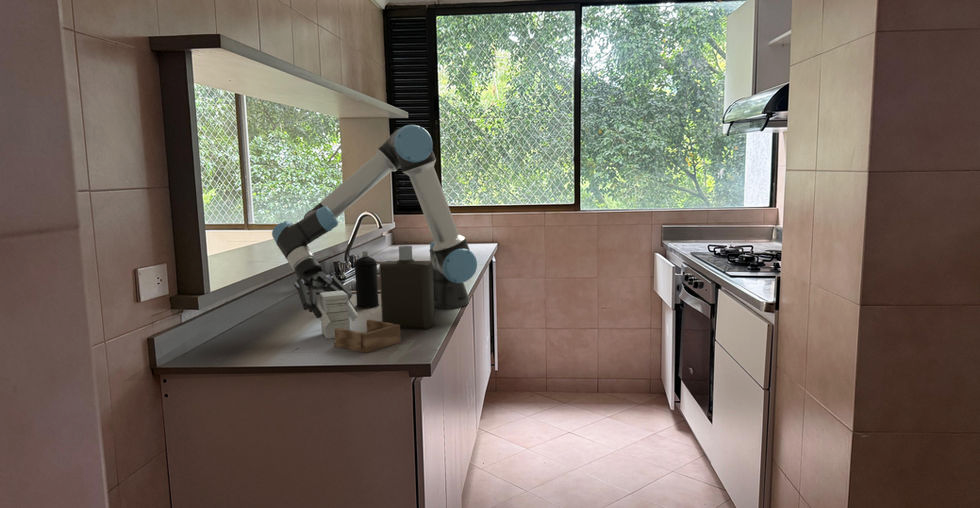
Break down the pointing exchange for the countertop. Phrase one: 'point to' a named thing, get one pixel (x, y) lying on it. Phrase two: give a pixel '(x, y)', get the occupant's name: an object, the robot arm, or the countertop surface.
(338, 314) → the supplement box
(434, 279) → the robot arm
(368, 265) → the aerosol can
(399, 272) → the bottle
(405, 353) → the countertop surface
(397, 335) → the u rest
